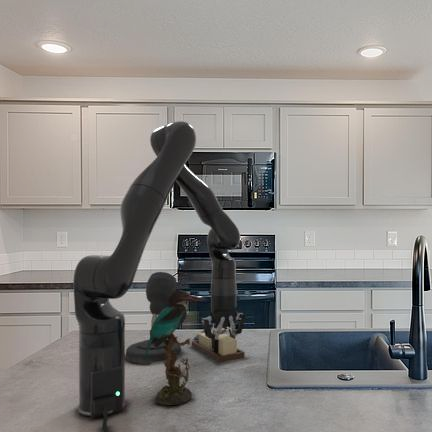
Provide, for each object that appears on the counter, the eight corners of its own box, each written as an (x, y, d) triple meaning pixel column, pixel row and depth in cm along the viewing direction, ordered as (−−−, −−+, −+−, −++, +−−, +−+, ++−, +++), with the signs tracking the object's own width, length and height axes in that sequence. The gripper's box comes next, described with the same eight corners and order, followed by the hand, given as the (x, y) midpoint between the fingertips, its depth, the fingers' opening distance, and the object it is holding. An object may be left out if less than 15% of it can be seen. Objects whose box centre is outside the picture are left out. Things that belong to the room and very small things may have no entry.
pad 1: (222, 349, 139) (222, 336, 139) (209, 352, 136) (209, 339, 136) (211, 343, 146) (211, 331, 146) (198, 345, 143) (198, 333, 143)
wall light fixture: (189, 270, 148) (173, 275, 128) (189, 346, 147) (172, 364, 127) (142, 270, 148) (118, 275, 128) (141, 346, 147) (117, 363, 127)
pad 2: (236, 353, 132) (236, 339, 132) (223, 355, 129) (223, 341, 129) (224, 346, 138) (224, 333, 138) (210, 349, 135) (210, 335, 136)
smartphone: (226, 328, 164) (214, 339, 149) (226, 330, 164) (214, 342, 149) (206, 327, 165) (192, 338, 150) (206, 329, 165) (192, 340, 150)
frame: (244, 358, 132) (244, 352, 132) (219, 364, 127) (219, 357, 127) (214, 343, 148) (214, 337, 148) (191, 347, 143) (191, 341, 143)
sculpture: (202, 407, 98) (202, 293, 98) (139, 406, 99) (139, 292, 99) (211, 392, 106) (211, 287, 106) (153, 391, 107) (153, 286, 107)
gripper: (207, 297, 126) (207, 357, 126) (251, 292, 135) (251, 349, 135) (196, 293, 132) (196, 351, 132) (238, 288, 141) (238, 343, 141)
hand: (223, 350), depth 134 cm, fingers closed on pad 2, 4 cm apart
